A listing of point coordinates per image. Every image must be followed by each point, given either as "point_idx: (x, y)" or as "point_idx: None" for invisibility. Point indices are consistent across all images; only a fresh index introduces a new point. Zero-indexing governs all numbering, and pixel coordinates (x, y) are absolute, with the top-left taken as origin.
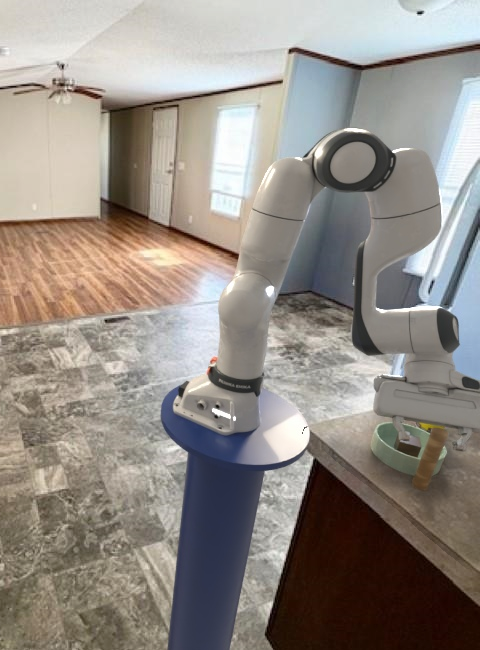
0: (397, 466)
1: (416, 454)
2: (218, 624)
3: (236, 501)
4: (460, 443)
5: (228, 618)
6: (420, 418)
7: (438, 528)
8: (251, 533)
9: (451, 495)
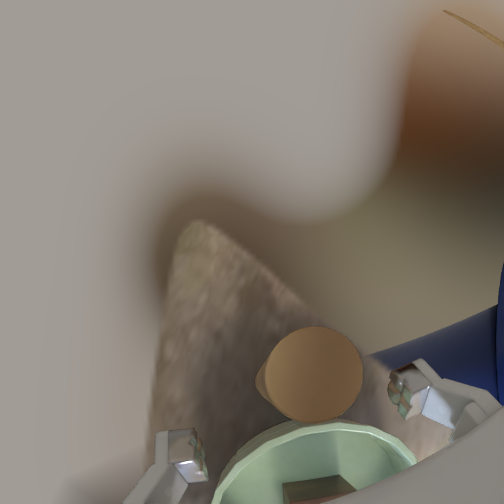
0: (336, 418)
1: (291, 490)
2: None
3: (471, 322)
4: (177, 449)
5: None
6: (420, 462)
7: (230, 268)
8: None
9: (190, 415)
